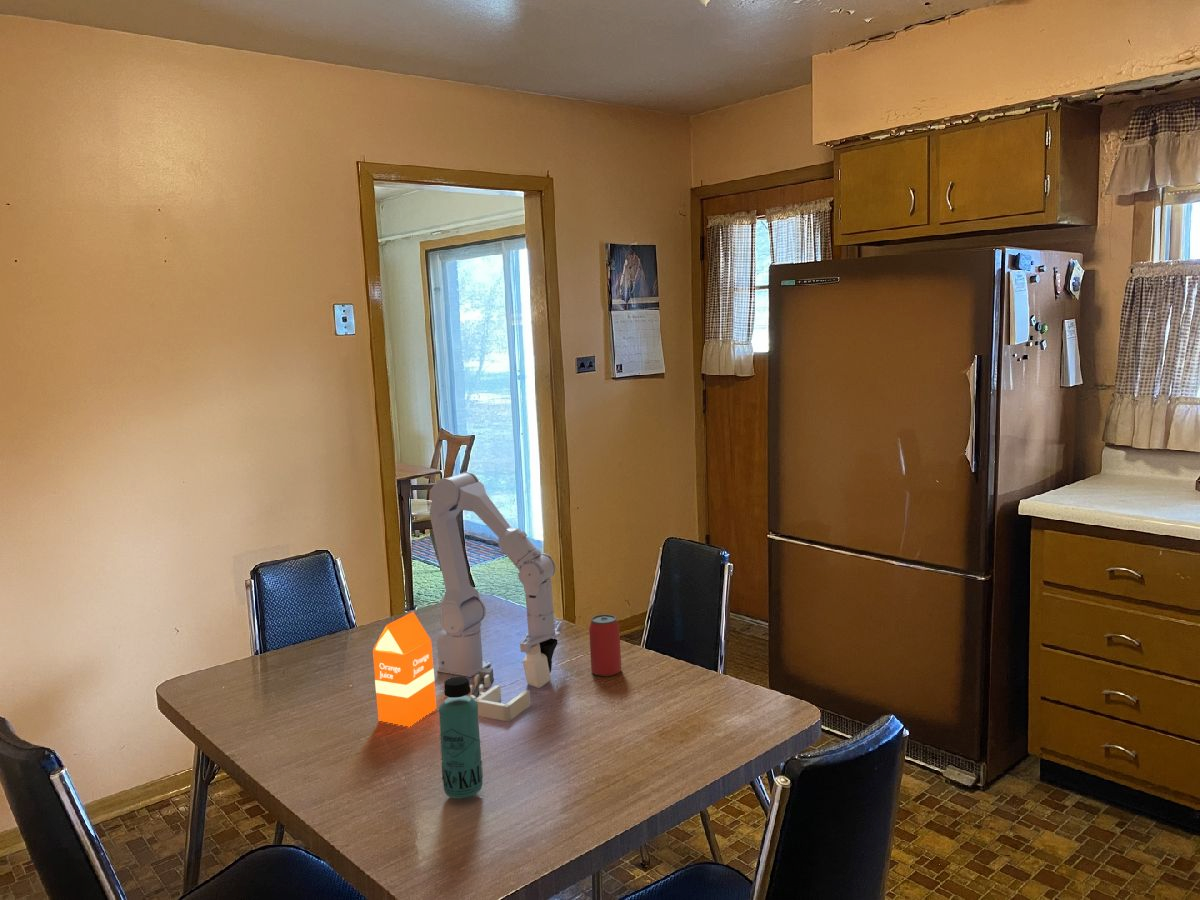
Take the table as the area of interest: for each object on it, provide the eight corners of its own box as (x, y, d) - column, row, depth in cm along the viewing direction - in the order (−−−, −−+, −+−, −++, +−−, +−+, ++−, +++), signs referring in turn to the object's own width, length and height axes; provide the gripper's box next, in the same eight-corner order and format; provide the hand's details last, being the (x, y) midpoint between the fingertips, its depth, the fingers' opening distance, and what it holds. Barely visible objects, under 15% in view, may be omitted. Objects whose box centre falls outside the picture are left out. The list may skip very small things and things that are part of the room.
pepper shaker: (539, 674, 189) (531, 636, 186) (552, 680, 186) (545, 641, 183) (526, 684, 186) (518, 645, 183) (539, 689, 183) (531, 650, 180)
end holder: (474, 714, 172) (473, 700, 172) (497, 698, 179) (496, 685, 179) (508, 721, 168) (507, 706, 168) (530, 705, 175) (529, 690, 175)
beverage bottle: (445, 788, 145) (436, 673, 142) (485, 785, 145) (478, 670, 142) (441, 809, 138) (432, 689, 135) (484, 806, 139) (475, 686, 136)
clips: (465, 709, 175) (464, 699, 174) (471, 684, 187) (470, 674, 187) (487, 708, 175) (486, 697, 175) (491, 682, 188) (490, 672, 187)
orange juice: (437, 708, 176) (430, 613, 173) (410, 727, 168) (402, 627, 165) (405, 703, 179) (398, 609, 176) (377, 721, 171) (369, 623, 168)
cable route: (469, 709, 174) (468, 698, 174) (479, 678, 190) (479, 668, 190) (484, 709, 174) (483, 697, 174) (493, 678, 190) (493, 667, 190)
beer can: (622, 665, 194) (620, 613, 192) (620, 677, 187) (617, 623, 186) (592, 665, 194) (590, 613, 193) (589, 677, 188) (587, 623, 186)
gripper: (539, 625, 177) (544, 688, 179) (573, 603, 190) (577, 662, 192) (509, 621, 181) (514, 684, 182) (545, 600, 193) (549, 659, 195)
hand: (545, 673), depth 188 cm, fingers closed, pressing on pepper shaker
